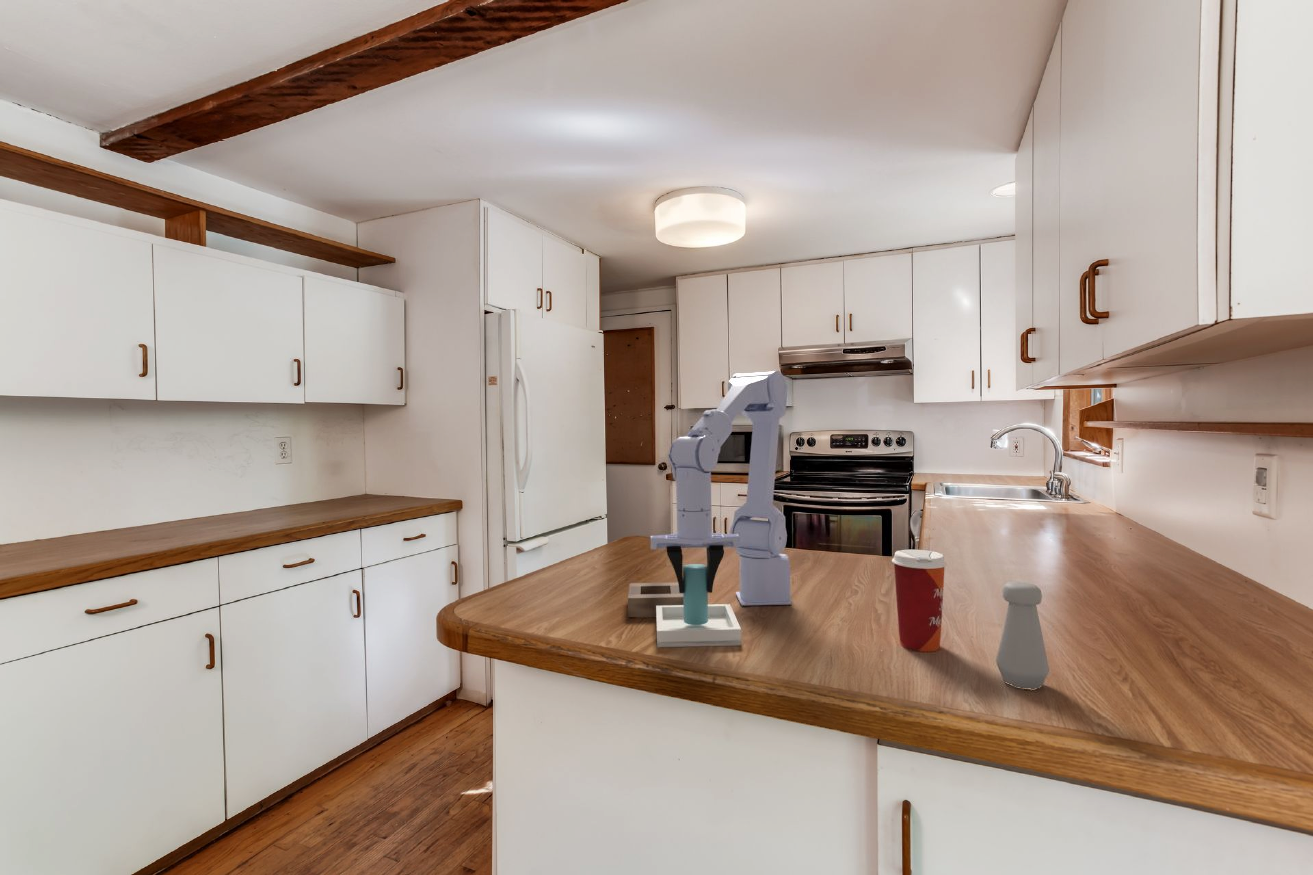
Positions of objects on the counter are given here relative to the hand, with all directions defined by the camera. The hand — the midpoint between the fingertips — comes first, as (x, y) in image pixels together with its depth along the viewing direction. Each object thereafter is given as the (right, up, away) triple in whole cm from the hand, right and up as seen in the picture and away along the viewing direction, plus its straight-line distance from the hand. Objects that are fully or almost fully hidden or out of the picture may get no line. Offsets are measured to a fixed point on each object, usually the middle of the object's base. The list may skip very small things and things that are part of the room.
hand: (695, 591), depth 99 cm
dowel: (0, -5, 0) cm, 5 cm away
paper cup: (+34, -7, -8) cm, 35 cm away
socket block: (-7, -7, +13) cm, 16 cm away
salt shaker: (+41, -7, -21) cm, 47 cm away
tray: (0, -7, 0) cm, 7 cm away
